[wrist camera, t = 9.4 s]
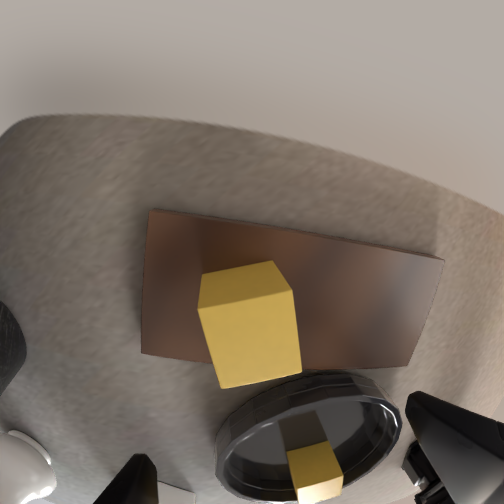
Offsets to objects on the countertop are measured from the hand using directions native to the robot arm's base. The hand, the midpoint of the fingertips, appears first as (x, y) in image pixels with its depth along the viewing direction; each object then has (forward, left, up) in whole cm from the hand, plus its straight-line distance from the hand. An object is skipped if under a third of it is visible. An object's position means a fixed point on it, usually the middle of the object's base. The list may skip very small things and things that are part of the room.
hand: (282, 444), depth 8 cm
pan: (-3, +15, -11) cm, 18 cm away
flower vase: (+28, +15, -11) cm, 34 cm away
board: (-4, +1, -11) cm, 11 cm away
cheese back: (-3, +18, -10) cm, 21 cm away
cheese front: (0, -1, -10) cm, 10 cm away
